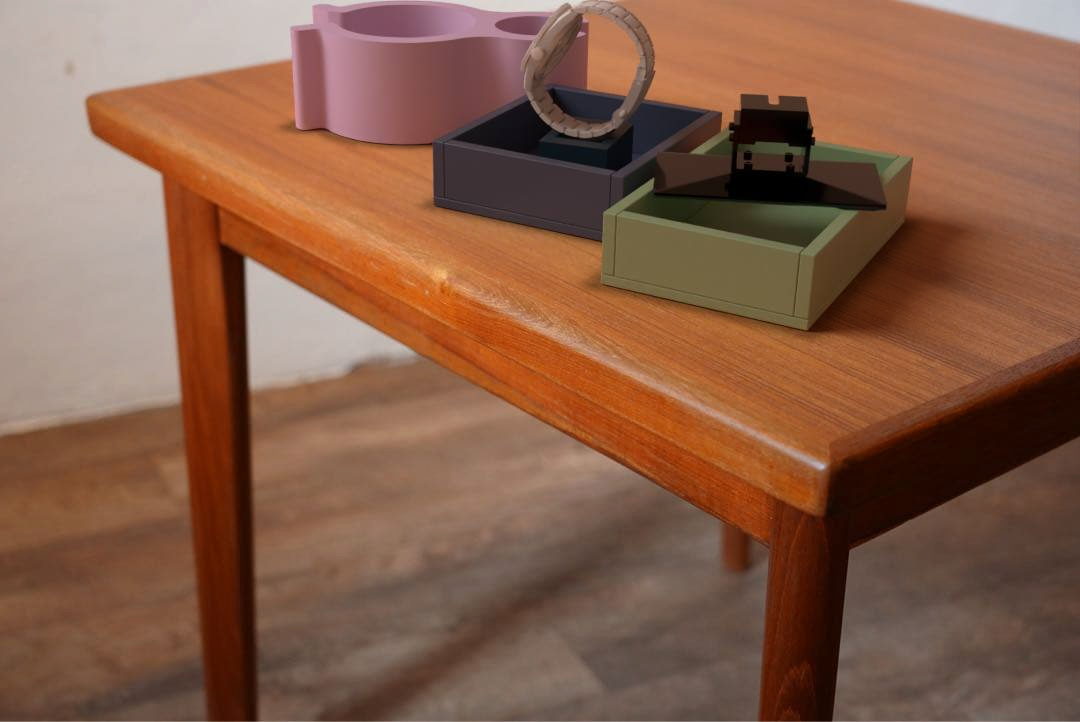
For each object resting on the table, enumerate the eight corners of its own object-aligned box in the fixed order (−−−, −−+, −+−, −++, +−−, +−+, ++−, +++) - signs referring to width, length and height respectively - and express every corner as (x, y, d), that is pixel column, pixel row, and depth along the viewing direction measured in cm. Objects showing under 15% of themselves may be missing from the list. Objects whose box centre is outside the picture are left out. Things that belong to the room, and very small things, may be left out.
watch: (538, 159, 94) (541, -12, 89) (658, 174, 91) (667, -1, 86) (507, 186, 89) (508, 7, 84) (632, 203, 87) (641, 20, 82)
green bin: (904, 222, 86) (913, 156, 84) (807, 331, 72) (815, 255, 70) (723, 188, 91) (728, 125, 89) (600, 283, 77) (602, 212, 75)
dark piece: (874, 170, 82) (885, 90, 80) (887, 215, 76) (899, 130, 74) (657, 156, 84) (662, 77, 81) (651, 200, 77) (657, 115, 75)
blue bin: (718, 173, 94) (722, 111, 92) (620, 245, 82) (623, 177, 80) (547, 141, 99) (548, 82, 97) (433, 205, 87) (432, 140, 86)
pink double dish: (589, 100, 108) (592, 7, 105) (578, 152, 97) (581, 50, 94) (326, 88, 109) (321, -4, 106) (285, 139, 98) (279, 37, 95)
